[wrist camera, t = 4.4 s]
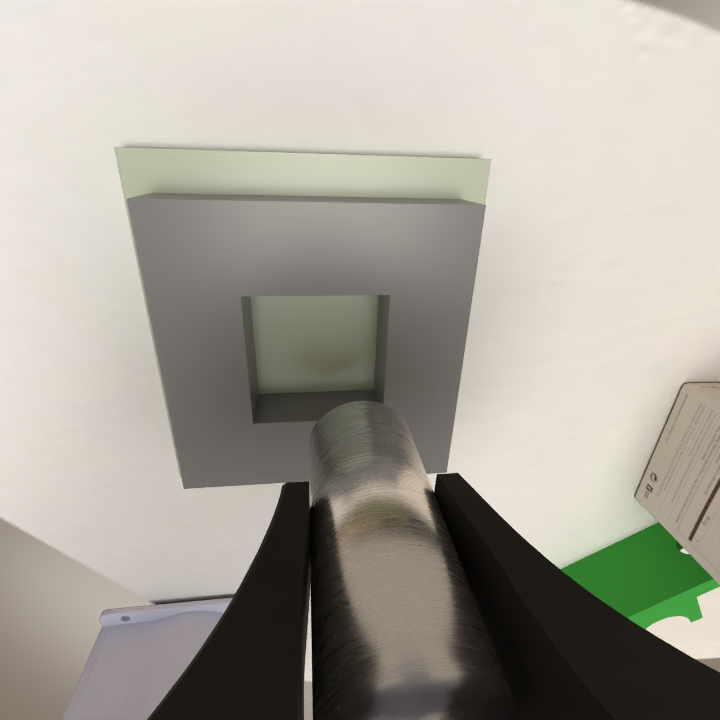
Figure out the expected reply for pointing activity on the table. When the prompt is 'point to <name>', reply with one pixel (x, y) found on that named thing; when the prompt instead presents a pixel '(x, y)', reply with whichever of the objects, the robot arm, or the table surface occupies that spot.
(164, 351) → the dock
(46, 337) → the table surface
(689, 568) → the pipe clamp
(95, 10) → the table surface
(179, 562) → the table surface
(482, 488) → the table surface
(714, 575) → the supplement box
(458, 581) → the silver metal cylinder
